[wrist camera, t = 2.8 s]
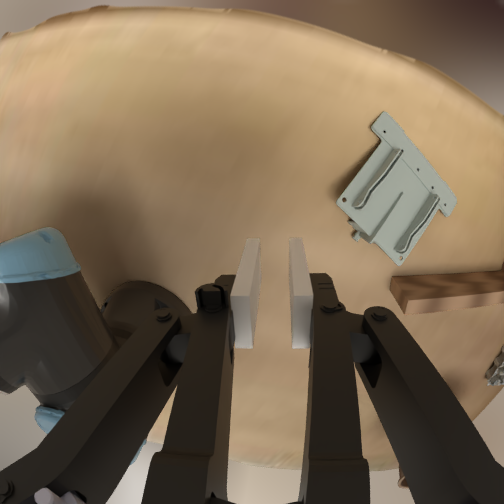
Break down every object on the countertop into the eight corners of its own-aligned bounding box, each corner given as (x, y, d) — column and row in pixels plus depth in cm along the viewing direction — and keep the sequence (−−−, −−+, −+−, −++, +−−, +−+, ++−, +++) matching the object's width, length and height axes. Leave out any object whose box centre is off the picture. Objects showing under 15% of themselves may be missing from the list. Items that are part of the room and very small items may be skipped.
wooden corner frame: (389, 289, 36) (404, 314, 30) (403, 138, 29) (427, 140, 23) (505, 281, 34) (525, 299, 28) (526, 161, 26) (552, 169, 21)
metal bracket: (412, 286, 30) (322, 196, 27) (387, 274, 35) (305, 196, 33) (469, 194, 29) (396, 100, 26) (442, 193, 34) (372, 113, 31)
